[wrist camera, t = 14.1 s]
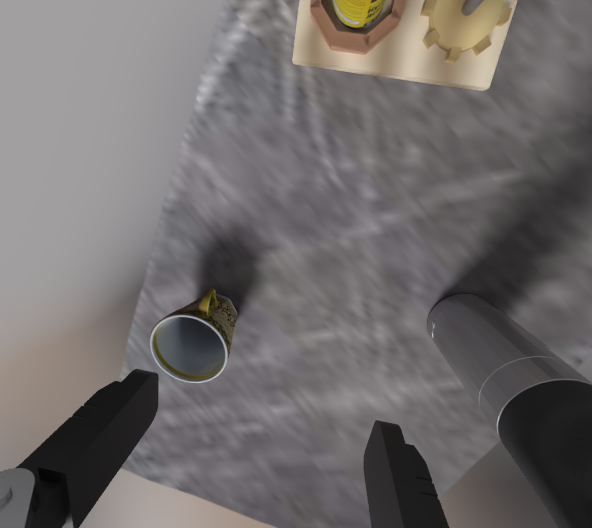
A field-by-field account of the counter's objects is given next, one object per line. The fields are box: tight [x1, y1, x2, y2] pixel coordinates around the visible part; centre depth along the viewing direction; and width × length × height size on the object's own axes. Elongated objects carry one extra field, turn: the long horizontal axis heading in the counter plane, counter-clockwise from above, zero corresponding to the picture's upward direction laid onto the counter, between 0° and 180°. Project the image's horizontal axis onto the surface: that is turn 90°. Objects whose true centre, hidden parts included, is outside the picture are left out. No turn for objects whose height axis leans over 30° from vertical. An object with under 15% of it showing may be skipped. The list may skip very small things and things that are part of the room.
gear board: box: [293, 0, 518, 91], centre depth 27 cm, size 22×12×5 cm, turn 82°
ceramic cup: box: [149, 288, 237, 383], centre depth 38 cm, size 13×10×10 cm
